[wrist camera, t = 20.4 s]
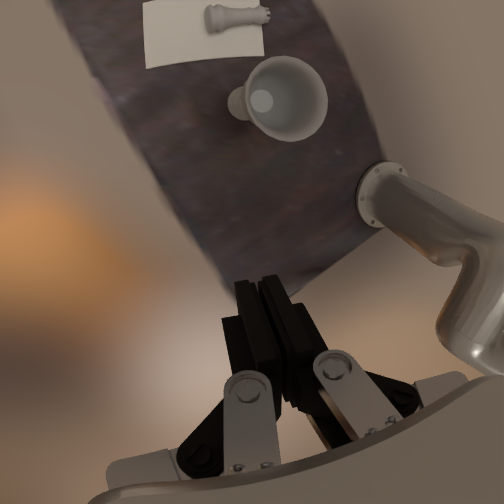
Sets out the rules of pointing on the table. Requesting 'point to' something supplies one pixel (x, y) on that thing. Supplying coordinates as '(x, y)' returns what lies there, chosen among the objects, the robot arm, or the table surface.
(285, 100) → the chalice
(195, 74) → the table surface
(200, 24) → the grey mat
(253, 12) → the rook chess piece
